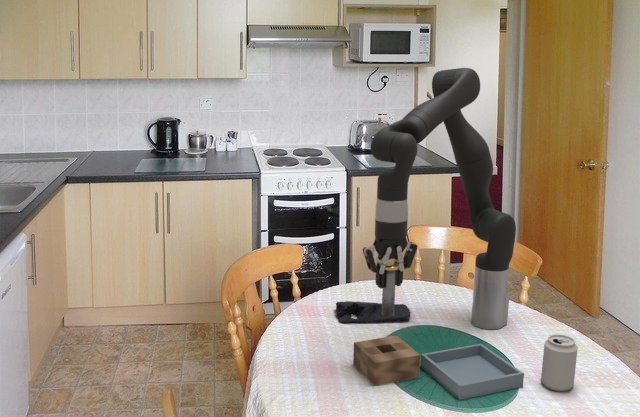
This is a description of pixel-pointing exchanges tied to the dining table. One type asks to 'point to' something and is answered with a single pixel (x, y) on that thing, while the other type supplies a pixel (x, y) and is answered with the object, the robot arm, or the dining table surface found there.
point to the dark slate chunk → (369, 312)
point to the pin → (389, 289)
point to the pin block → (386, 360)
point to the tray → (471, 371)
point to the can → (559, 362)
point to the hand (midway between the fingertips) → (388, 286)
